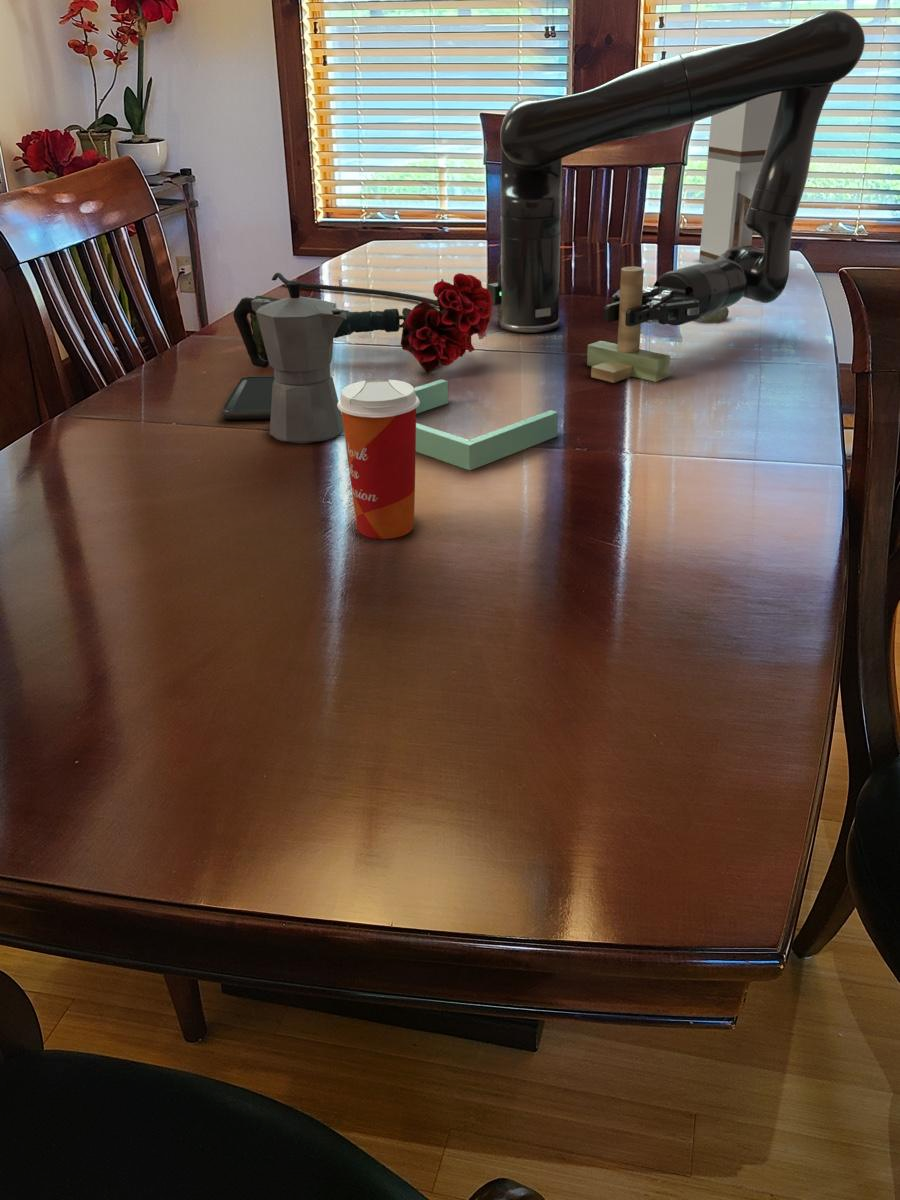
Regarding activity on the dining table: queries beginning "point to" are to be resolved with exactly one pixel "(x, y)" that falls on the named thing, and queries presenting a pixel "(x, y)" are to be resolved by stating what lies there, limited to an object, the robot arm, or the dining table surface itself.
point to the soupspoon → (716, 316)
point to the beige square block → (611, 371)
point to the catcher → (484, 446)
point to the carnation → (423, 322)
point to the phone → (250, 399)
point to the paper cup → (381, 454)
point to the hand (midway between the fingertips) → (617, 316)
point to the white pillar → (734, 173)
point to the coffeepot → (296, 362)
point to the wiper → (630, 335)
